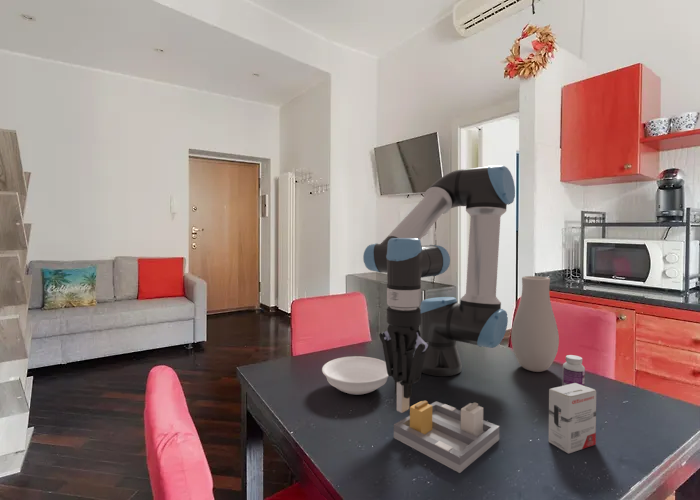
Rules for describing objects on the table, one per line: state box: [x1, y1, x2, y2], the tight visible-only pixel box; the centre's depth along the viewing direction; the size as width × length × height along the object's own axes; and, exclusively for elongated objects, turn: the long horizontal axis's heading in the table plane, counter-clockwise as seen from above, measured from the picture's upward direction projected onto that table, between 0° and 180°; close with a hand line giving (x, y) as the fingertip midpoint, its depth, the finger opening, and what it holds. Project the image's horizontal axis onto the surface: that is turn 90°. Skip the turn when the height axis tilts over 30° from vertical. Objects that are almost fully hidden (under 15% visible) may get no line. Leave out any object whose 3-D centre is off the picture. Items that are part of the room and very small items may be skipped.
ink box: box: [548, 383, 597, 455], centre depth 77 cm, size 8×5×12 cm, turn 112°
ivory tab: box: [460, 402, 484, 436], centre depth 79 cm, size 3×4×6 cm
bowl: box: [321, 355, 390, 396], centre depth 104 cm, size 20×20×6 cm
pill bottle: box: [561, 354, 586, 386], centre depth 103 cm, size 5×5×10 cm
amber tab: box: [409, 400, 432, 434], centre depth 80 cm, size 3×4×6 cm
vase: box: [510, 275, 560, 373], centre depth 119 cm, size 14×14×30 cm
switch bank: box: [393, 401, 500, 474], centre depth 79 cm, size 16×16×3 cm
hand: (402, 409), depth 83 cm, fingers closed
